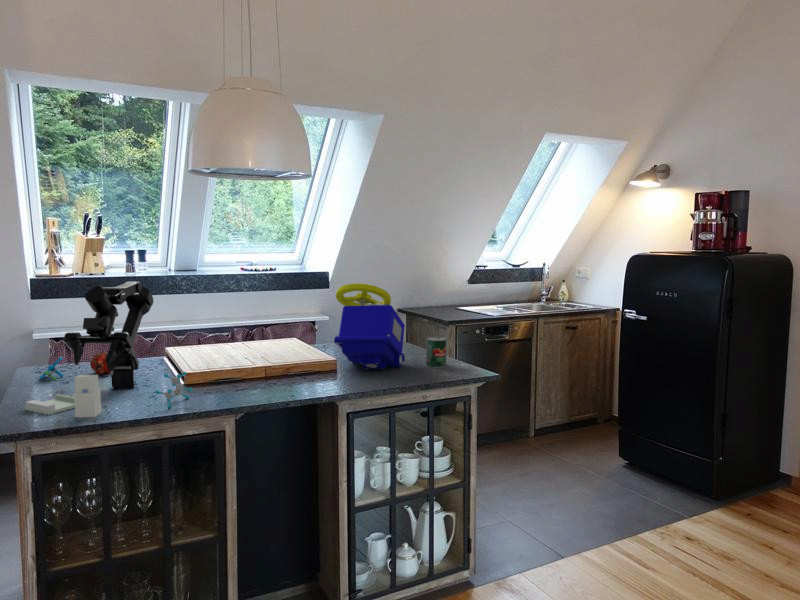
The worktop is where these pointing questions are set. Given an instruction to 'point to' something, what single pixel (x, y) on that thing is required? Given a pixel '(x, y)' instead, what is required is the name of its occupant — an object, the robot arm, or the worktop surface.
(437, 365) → the canned tomato
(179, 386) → the molecular model
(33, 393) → the worktop surface
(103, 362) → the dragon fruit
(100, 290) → the robot arm
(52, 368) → the blue green branched piece
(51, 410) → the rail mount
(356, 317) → the control box
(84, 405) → the block
